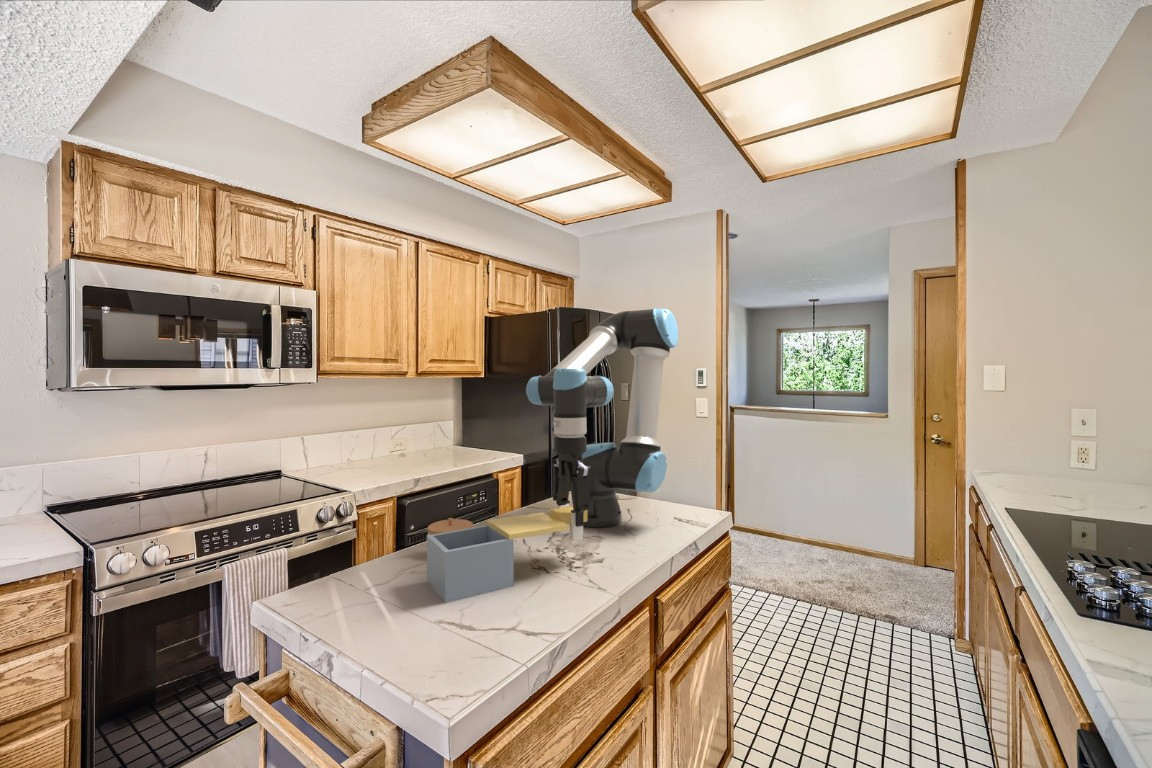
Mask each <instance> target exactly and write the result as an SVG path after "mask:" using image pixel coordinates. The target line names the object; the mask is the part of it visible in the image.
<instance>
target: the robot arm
mask: <svg viewBox="0 0 1152 768" xmlns="http://www.w3.org/2000/svg"><path fill="white" fill-rule="evenodd" d="M678 342H679V327H678V323H677V321H676V318H675V316H674V314H673V312H672V311H670V310H669V309H667V308H650V309H639V310H625V311H619V312H617V313H615V314H613V315H610V316H608V317H606V319H604V320H602V321H600V322H599V323H598V324H596V325H595V326H594V327H593V328H592V329H591V330H590V332H589V334H588V337H587V338H586V339H585V340H583V341H582V342H581V343H580V344H579V345H578V346H577V347H576V348H574V349H573V350H572V351H571V352H570V353H569V354H567V356H566V357H565V358H563V359H562V360H561V361H560V362H559V363H558V364H557V365H555V367H553V368H552V369H551V370H550V371H549V372H547V374H545V375H543V376H542V375H538V376H533V377H530V379H529V380H528V382H527V384H526V388H525V389H526V390H525V392H526V396H527V399H528V401H529V402H530V403H531V404H533V405H539V406H543V407H545V406H553V422H552V424H553V425H552V426H553V434H554V435H555V436H554V438H553V452H554V453H555V454H558V455H557V458H552V459H551V466H552V500H553V501H555V503H556V505H557V506H558V507H557V508H564V507H571V505H570V504H571V501H572V506H573V510H571V524H568V525H569V530H564V531H558V535H564V534H565V535H566V534H569V533H571V534H570V536H571V538H570V539H571V541H572V542H576V541H581V540H584V527H586V528H587V527H588V528H590V527H591V528H606V527H607V528H608V527H613V526H616V525H619V524H621V522H622V520H623V519H622V510H621V507H620V503H619V501H618V498H617V491H616V490H623V491H624V490H625V491H632V492H637V493H654V492H656V491H657V490H658V489H659V488H661V486H662V484H663V482H664V479H665V477H666V473H667V468H668V467H667V466H668V463H667V457H666V454H665V453H664V452H662V451H661V445H660V444H659V442H658V441H657V433H658V422H659V413H660V412H659V411H660V402H661V400H660V399H661V392H662V380H663V370H664V360H666V359H667V358H668V357H669V356H670V350H671V349H673V348H675V347H676V346H677V345H678ZM628 349H629V351H630V353H631V356H633V357H634V362H633V371H632V381H631V382H632V383H631V390H630V399H629V406H628V407H629V409H628V410H629V411H628V418H627V427H626V435H625V438H623V439H622V440H621V441H620V444H619V448H617V444H616V443H615V442H600V443H599V442H598V443H590V444H588V443H587V437H586V436H585V435H586V434H588V433H587V432H588V429H587V408H596V407H597V408H600V407H603V406H606V405H608V404H609V403H610V402H611V401H612V399H613V397H614V392H615V390H614V386H613V383H612V382H611V381H610V380H609V378H607V377H605V376H601V375H593V376H592V375H591V376H589V375H588V374H589V373H590V372H591V371H592V370H593V369H594V368H595V367H596V366H597V365H598V364H599V363H600V362H601V361H602V360H603V359H604V358H605V357H606V356H609V355H611V354H613V353H615V352H616V351H619V350H628ZM570 495H571V501H570V500H569V496H570ZM586 510H587V511H588V512H587V522H584V520H583V519H584V511H586Z"/></svg>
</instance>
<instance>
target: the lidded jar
mask: <svg viewBox="0 0 1152 768" xmlns="http://www.w3.org/2000/svg"><path fill="white" fill-rule="evenodd" d="M473 527H474V523H473V522H472V521H471V520H467V519H459V518H453V517H449V518H448V519H442V520H439V521H435V522H433V523H431V524H429V525H428V527H427V535H432V534H438V533H444V532H450V531H455V530H461V529H467V528H473Z"/></svg>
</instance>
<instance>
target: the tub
mask: <svg viewBox="0 0 1152 768" xmlns="http://www.w3.org/2000/svg"><path fill="white" fill-rule="evenodd" d="M514 569H515V568H514V539H508V538H506V537H505V536H503V535H502V534H500V533H499V532H497V531H496V530H494V529H493V528H491V527H490V526H488V525H487V524H486V525H479V526H473V528H467V529H461V530H455V531H450V532H444V533H438V534H432V535H428V534H427V535H426V574H427V575H426V578H427V579H426V581H427V582H428V584H429V586H431V587H432V588H433V590H434V591H435V592H436V594H437V595H439V597H440V598H441V599H442V601H443V602H444V603H445V604H448V603H452V602H456V601H460V600H464V599H468V598H469V599H470V598H472V597H476V596H480V595H485V594H488V593H492V592H496V591H500V590H504V589H507V588H513V587H514V584H515V581H514V578H515V576H514V574H515V573H514V572H515V571H514Z"/></svg>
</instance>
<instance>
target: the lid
mask: <svg viewBox="0 0 1152 768" xmlns="http://www.w3.org/2000/svg"><path fill="white" fill-rule="evenodd" d="M571 510H573V505H572V506H571V505H570V507H564V508H558V507H557V508H551V509H549V514H547V513H545V512H543V511H542V512H536V513H529V514H528V513H527V514H521V515H513V516H507V517H499V518H492V519H487V520H486V525H488V526H490V527H491V528H493V529H494V530H496V531H497V532H499V533H500V534H502V535H503V536H505V537H506V538H508V539H513V540H514V539H519V538H520V539H521V538H525V537H526V538H527V537H532V536H538V535H544V534H546V535H547V534H551V533H557V532H558V533H559V531H564V530H569V525H568V524H570V525H571ZM587 512H588V511H587V510H586V511H584V519H583V520H584V522H587Z"/></svg>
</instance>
